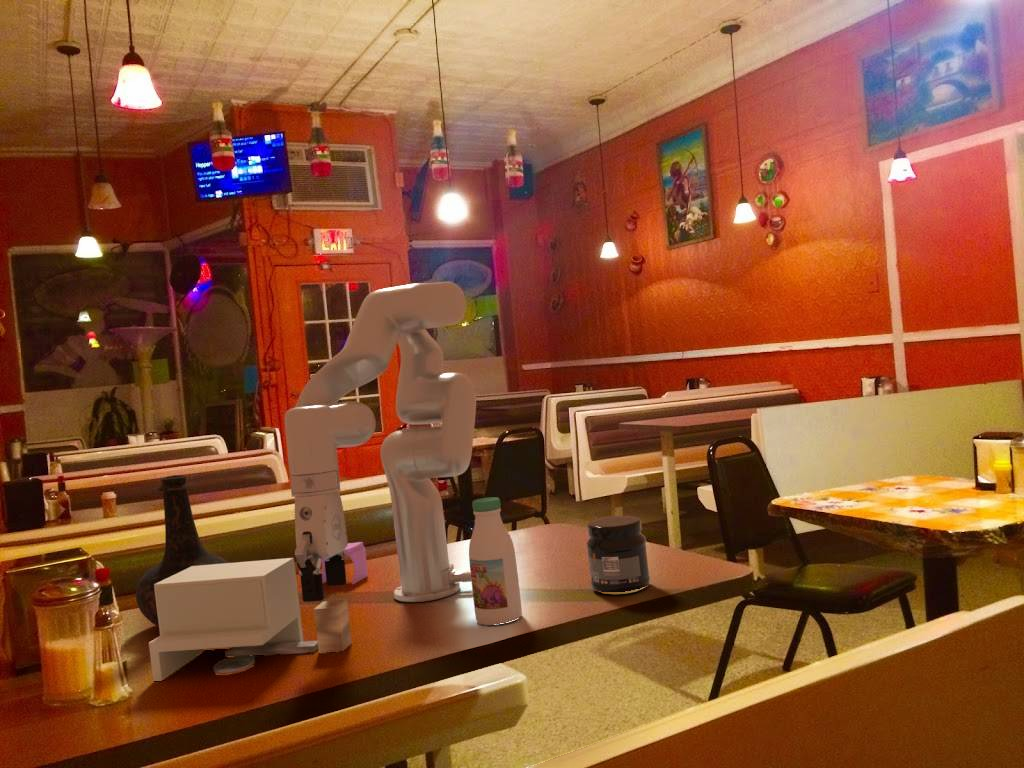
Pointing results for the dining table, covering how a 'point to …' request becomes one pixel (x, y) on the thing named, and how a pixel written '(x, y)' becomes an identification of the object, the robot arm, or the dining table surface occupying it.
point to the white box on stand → (224, 610)
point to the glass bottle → (174, 545)
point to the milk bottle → (493, 566)
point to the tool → (328, 629)
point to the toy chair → (358, 558)
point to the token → (234, 664)
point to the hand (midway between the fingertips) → (325, 592)
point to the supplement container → (617, 554)
